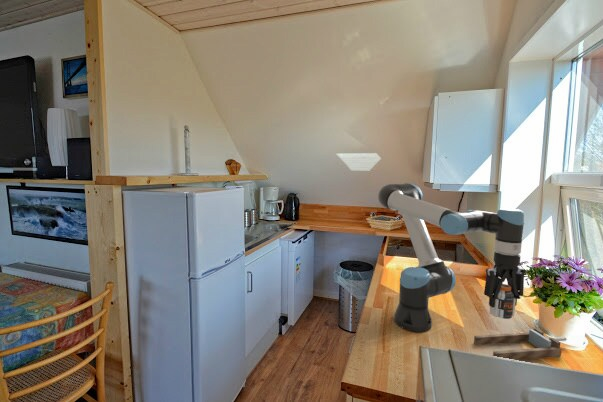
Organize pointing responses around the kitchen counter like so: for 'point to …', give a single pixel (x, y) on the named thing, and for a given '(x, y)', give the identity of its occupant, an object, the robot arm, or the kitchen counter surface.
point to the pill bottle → (505, 302)
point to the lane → (522, 353)
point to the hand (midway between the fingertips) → (501, 314)
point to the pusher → (541, 339)
